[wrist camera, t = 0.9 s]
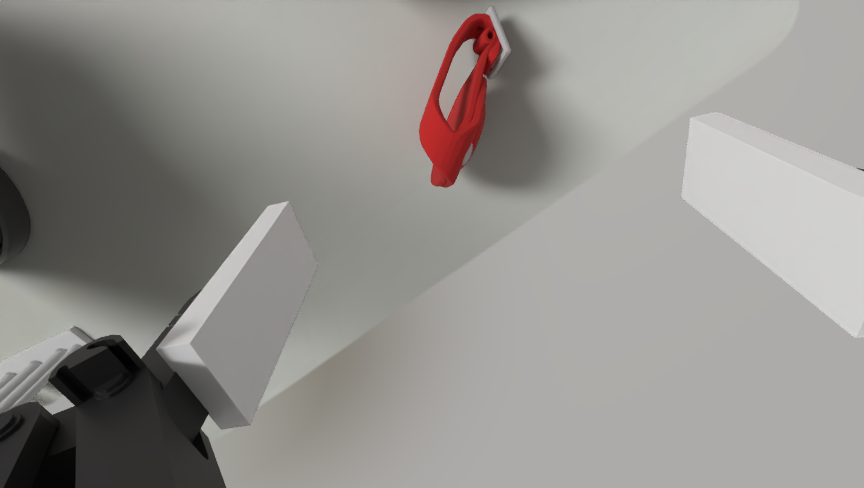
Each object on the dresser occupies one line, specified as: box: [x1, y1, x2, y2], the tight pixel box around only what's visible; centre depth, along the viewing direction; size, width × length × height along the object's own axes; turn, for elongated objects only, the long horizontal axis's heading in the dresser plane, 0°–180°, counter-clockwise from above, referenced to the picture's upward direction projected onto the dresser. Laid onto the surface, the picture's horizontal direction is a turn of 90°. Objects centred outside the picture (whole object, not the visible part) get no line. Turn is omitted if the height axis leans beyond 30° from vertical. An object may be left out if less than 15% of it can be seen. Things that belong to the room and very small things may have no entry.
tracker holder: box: [419, 6, 511, 187], centre depth 27 cm, size 12×4×10 cm, turn 159°
